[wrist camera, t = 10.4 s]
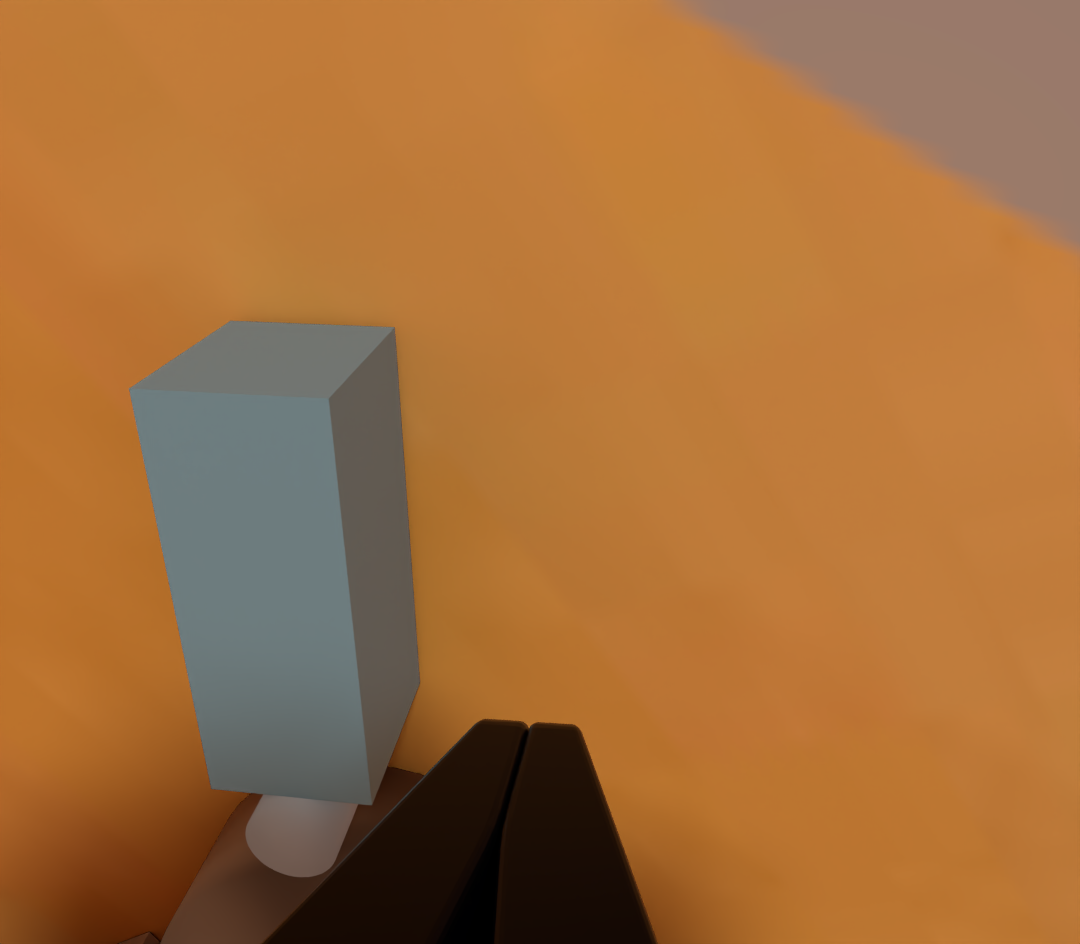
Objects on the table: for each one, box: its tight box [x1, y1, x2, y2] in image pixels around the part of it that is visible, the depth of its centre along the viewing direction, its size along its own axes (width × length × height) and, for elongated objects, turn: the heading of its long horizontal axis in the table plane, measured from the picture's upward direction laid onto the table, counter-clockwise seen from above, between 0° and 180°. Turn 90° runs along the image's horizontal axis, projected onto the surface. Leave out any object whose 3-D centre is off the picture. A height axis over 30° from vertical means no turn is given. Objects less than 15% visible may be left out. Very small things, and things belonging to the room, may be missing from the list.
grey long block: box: [129, 321, 420, 877], centre depth 20 cm, size 11×4×4 cm, turn 0°
